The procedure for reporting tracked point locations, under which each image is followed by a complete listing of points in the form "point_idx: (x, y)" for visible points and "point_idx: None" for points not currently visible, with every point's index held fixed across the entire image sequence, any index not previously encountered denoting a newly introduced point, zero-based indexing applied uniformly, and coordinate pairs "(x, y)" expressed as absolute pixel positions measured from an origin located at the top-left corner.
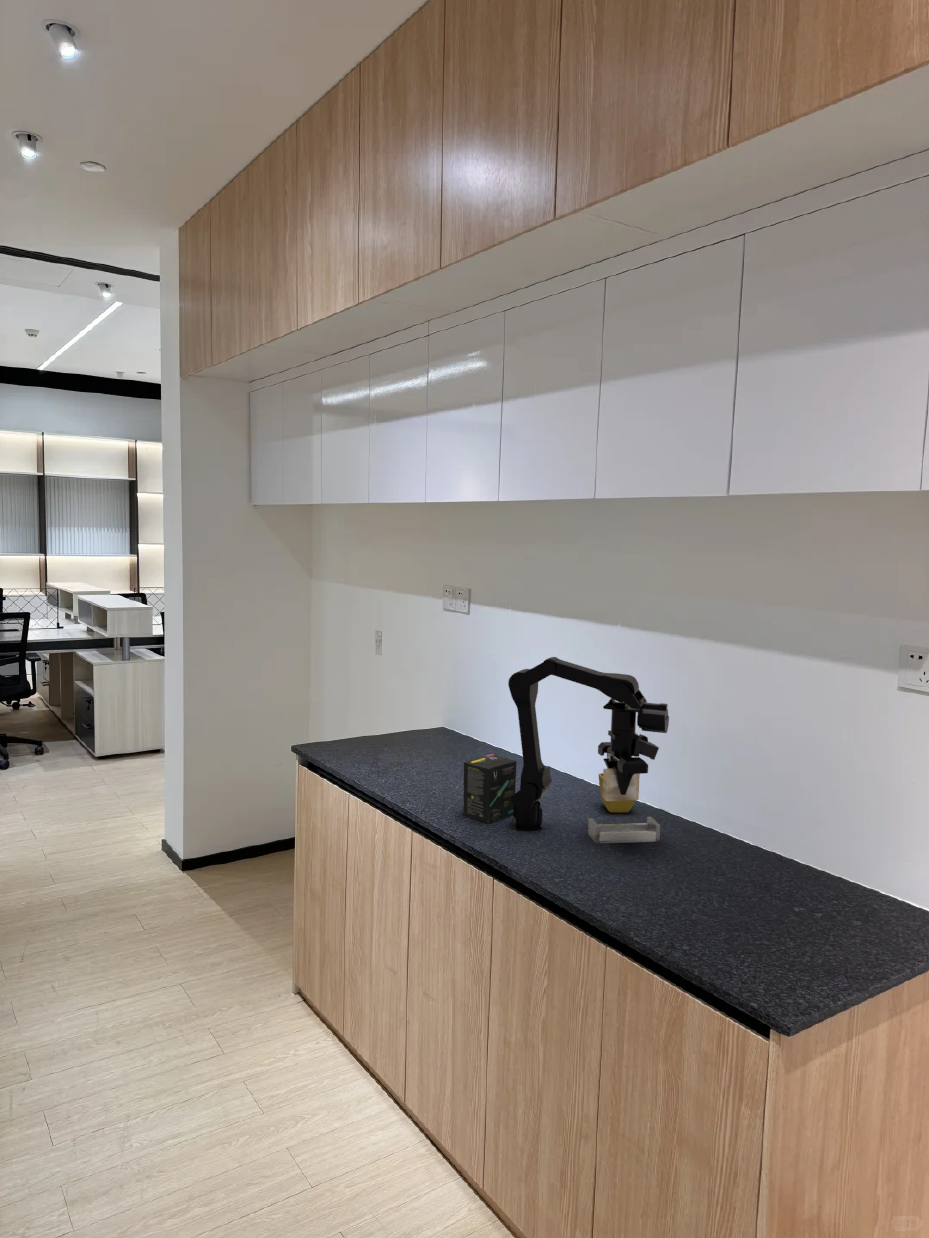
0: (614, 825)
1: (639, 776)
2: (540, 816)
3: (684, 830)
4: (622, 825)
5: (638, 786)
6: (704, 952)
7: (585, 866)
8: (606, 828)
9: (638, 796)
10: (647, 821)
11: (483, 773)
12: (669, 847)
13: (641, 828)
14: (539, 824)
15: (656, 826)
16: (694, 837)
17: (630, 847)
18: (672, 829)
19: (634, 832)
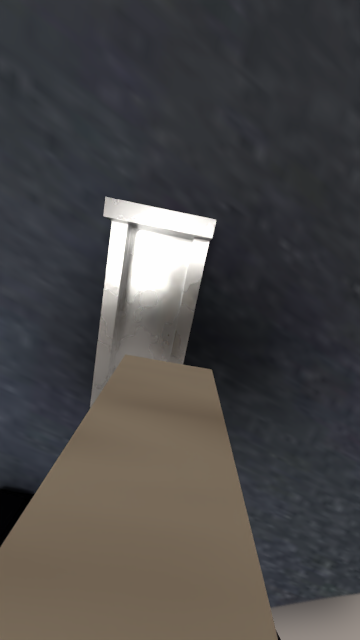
0: (111, 352)
1: (266, 603)
2: (8, 524)
3: (136, 53)
4: (115, 324)
5: (227, 445)
6: None
7: (290, 501)
8: (110, 373)
9: (213, 382)
10: (116, 221)
11: None
12: (265, 226)
13: (127, 252)
14: (26, 504)
15: (211, 237)
16: (215, 60)
17: (223, 346)
18: (116, 102)
19: (190, 321)
